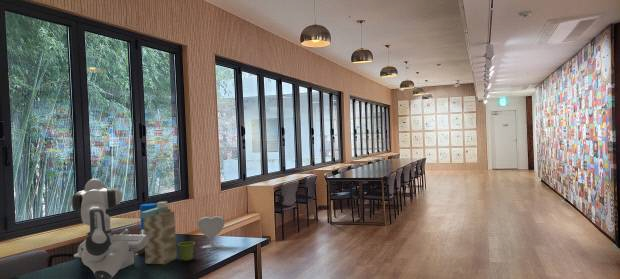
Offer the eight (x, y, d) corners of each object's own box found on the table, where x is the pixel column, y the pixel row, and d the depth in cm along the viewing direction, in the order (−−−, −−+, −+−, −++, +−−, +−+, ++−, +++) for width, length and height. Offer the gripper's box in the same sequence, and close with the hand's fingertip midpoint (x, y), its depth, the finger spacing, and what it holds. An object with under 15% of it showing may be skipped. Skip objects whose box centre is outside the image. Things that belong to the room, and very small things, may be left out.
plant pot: (194, 256, 254) (194, 240, 254) (196, 260, 245) (196, 244, 245) (177, 258, 251) (176, 242, 251) (178, 262, 242) (178, 246, 242)
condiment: (138, 252, 270) (137, 232, 270) (152, 251, 271) (151, 231, 271) (134, 255, 263) (133, 234, 263) (149, 254, 264) (148, 233, 264)
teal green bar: (140, 218, 233) (139, 207, 233) (162, 211, 253) (162, 201, 253) (146, 218, 232) (145, 207, 232) (168, 211, 253) (167, 201, 253)
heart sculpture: (198, 248, 273) (197, 218, 273) (199, 246, 278) (198, 217, 278) (224, 246, 275) (223, 216, 274) (225, 244, 280) (224, 215, 279)
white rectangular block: (107, 268, 236) (106, 239, 236) (121, 263, 246) (119, 234, 246) (121, 269, 234) (119, 239, 234) (134, 263, 244) (132, 234, 244)
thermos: (142, 242, 296) (140, 204, 296) (159, 240, 300) (157, 202, 299) (141, 245, 286) (139, 206, 286) (159, 244, 289) (157, 204, 289)
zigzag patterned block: (145, 263, 243) (143, 212, 243) (157, 258, 254) (154, 209, 253) (165, 264, 240) (163, 212, 240) (176, 258, 251) (174, 208, 251)
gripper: (138, 245, 211) (152, 225, 222) (100, 245, 216) (115, 225, 227) (142, 255, 214) (156, 235, 225) (105, 254, 219) (120, 235, 230)
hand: (135, 230), depth 226 cm, fingers open, 8 cm apart
